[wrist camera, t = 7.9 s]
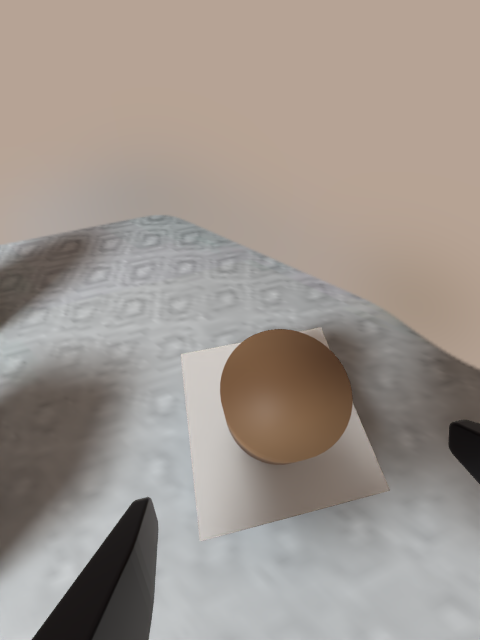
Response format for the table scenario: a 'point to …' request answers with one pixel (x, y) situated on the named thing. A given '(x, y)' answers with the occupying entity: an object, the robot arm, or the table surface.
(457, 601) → the table surface
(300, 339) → the plunger
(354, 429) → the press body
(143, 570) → the robot arm
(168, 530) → the table surface
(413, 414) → the table surface
